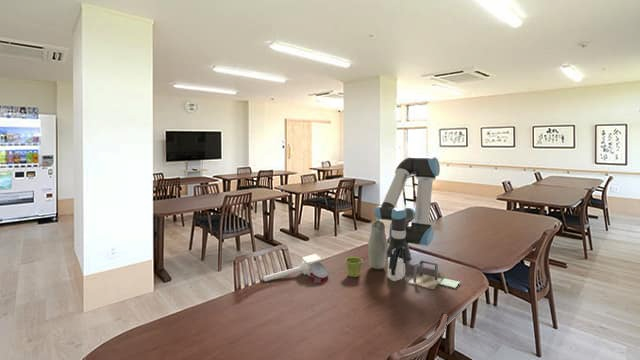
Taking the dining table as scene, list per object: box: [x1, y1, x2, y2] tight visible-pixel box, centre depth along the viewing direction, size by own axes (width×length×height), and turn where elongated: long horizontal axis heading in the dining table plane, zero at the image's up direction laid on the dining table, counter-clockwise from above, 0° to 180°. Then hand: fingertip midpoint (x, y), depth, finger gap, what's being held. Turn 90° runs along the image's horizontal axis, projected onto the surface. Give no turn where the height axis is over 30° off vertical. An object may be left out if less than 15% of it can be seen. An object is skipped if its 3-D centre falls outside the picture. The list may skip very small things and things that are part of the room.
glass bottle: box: [368, 220, 388, 270], centre depth 195 cm, size 10×10×28 cm
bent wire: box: [412, 260, 439, 282], centre depth 176 cm, size 9×10×8 cm
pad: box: [439, 278, 461, 289], centre depth 173 cm, size 8×8×1 cm
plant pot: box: [345, 256, 363, 278], centre depth 186 cm, size 9×9×9 cm
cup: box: [387, 257, 406, 281], centre depth 182 cm, size 8×12×10 cm
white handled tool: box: [263, 253, 323, 282], centre depth 186 cm, size 9×9×32 cm
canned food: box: [309, 261, 329, 284], centre depth 182 cm, size 11×10×10 cm
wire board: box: [407, 272, 443, 290], centre depth 177 cm, size 13×14×1 cm
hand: (397, 277), depth 182 cm, fingers open, 9 cm apart
